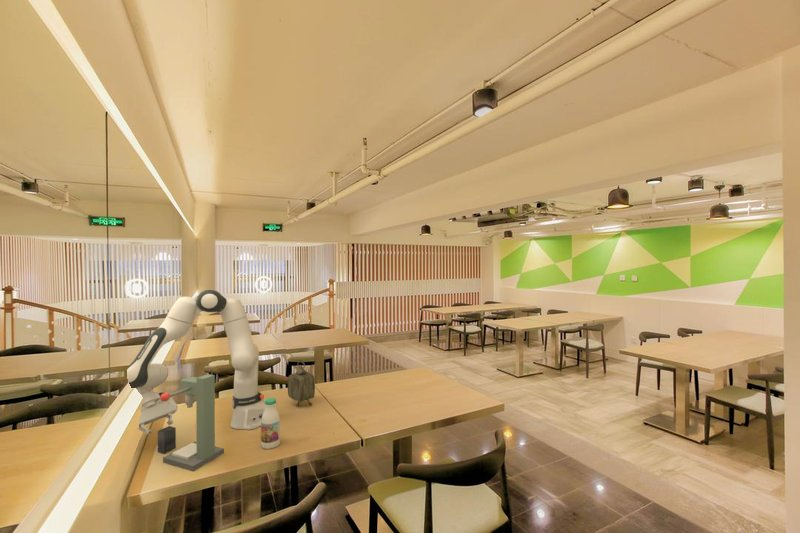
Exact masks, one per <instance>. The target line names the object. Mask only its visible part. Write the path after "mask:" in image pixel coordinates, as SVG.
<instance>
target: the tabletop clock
mask: <svg viewBox="0 0 800 533" xmlns="http://www.w3.org/2000/svg"><path fill="white" fill-rule="evenodd" d="M299 363H302V364H303V366H302V365H299ZM305 366H306V365H305V362H304V361H303V360H298V361H297V367H298V369H297V370H296V372H294V373H291V374H290V375H288V377H287V395H288V397H289V398H290V399H291V400H293V401H297V403H296V407H299V406H300V402H308V406H309V407H311V406H313V404H312V402H310V400H311V399H314V398H315V393H316V382H315V376H314V374H313V373H311V372H309V371H307V370H306V369H305Z"/></svg>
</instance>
